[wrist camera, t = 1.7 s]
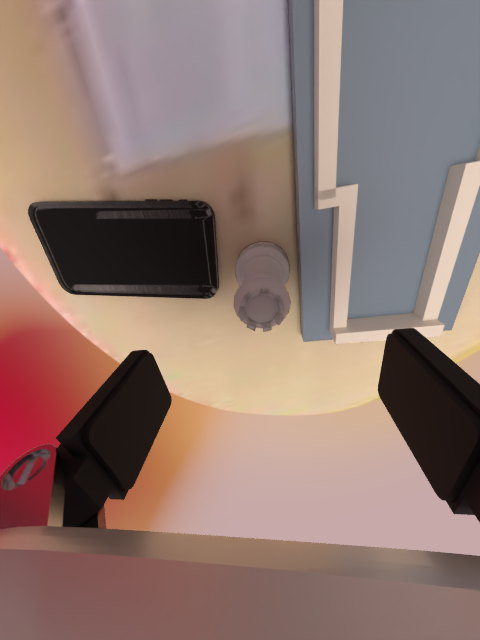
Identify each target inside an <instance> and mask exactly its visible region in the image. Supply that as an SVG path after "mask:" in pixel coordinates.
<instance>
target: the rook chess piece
mask: <svg viewBox="0 0 480 640" xmlns="http://www.w3.org/2000/svg"><path fill="white" fill-rule="evenodd" d="M289 267H290V266H289V262H288V257H287V255H286V254H285V253H284V251H283V250H282V249H281V248H280V247H278V246H277V245H275V244H273V243H271V242H257V243H254V244H251V245H249V246H248V247H247V248H245V249H244V250H243V251H242V252H241V254H240V256H239V258H238V260H237V262H236V278H237V281H238V283H239V286H240V287H239V288H238V290H237V292H236V294H235V296H234V309H235V311H236V314H237V316H238V317H239V318H240V320H241V321H243V322H244V323H246V324H247V328H250V329H252V330H254V331H255V328H256V327H257V328H263V332H264V331H269V330H272V326H275V325H276V324H278V325H279V324H280V323H281V322H282V320H283V319H284V318H285V316H286V315H287V314H288V312H289V308H290V303H291V301H290V297H289V293H288V291H287V290H286V289H285V287H284V286H285V284H286V283H287V281H288V277H289V272H290V268H289Z"/></svg>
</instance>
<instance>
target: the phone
mask: <svg viewBox="0 0 480 640" xmlns="http://www.w3.org/2000/svg"><path fill="white" fill-rule="evenodd" d="M28 214H29V217H30V220H31V222H32V224H33V227H34V229H35V231H36V233H37V235H38V238H39V240H40V242H41V244H42V246H43V249H44V251H45V253H46V255H47V257H48V260H49V262H50V264H51V266H52V269H53V271H54V273H55V275H56V277H57V280H58V282H59V284H60V285H61V287H62V288H63V289H64V290H65V291H67V292H69V293H71V294H75V295H106V296H138V297H170V298H202V299H206V298H211V297H213V296H214V295H215V294H216V292H217V290H218V288H219V276H218V260H217V244H216V227H215V216H214V212H213V210H212V208H211V207H210V206H209V205H208V204H207V203H205V202H203V201H187V200H179V201H173V200H160V201H157V200H156V199H154V200H145V201H105V202H35V203H32V204H31V205H30V206H29V209H28Z"/></svg>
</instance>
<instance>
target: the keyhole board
mask: <svg viewBox="0 0 480 640" xmlns="http://www.w3.org/2000/svg"><path fill="white" fill-rule="evenodd" d="M288 3H289V29H290V55H291V81H292V107H293V133H294V159H295V185H296V211H297V237H298V263H299V289H300V315H301V334H302V338H303V342H307V341H319V340H332V339H334V341H335V344H344V343H357V342H370V341H383V340H386V338H387V335H388V334H391V333H392V331H393V330H395V329H404V328H414V329H416V330H417V331H418V332H420V333H421V334H422V335H423V336H424V337H436V336H441V334H442V332H443V331H445V330H452V327H453V325H454V322H455V319H456V316H457V314H458V311H459V308H460V305H461V302H462V300H463V297H464V294H465V291H466V289H467V286H468V283H469V280H470V278H471V275H472V272H473V269H474V267H475V264H476V261H477V258H478V256H479V253H480V0H288Z"/></svg>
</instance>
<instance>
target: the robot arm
mask: <svg viewBox="0 0 480 640" xmlns="http://www.w3.org/2000/svg"><path fill="white" fill-rule="evenodd" d="M378 393H379V396H380V398H381V400H382V401H383V403H384V405H385V407H386V408H387V410H388V412H389V414H390V415H391V417H392V419H393V421H394V422H395V424H396V426H397V427H398V429H399V431H400V432H401V434H402V436H403V438H404V439H405V441H406V443H407V445H408V446H409V448H410V450H411V451H412V453H413V455H414V457H415V458H416V460H417V462H418V463H419V465H420V467H421V469H422V470H423V472H424V474H425V476H426V477H427V479H428V481H429V482H430V484H431V486H432V488H433V489H434V491H435V493H436V494H437V496H438V497H439V498H440V499H442V500H445V501H446V502H447V503H448V505H449V507H450V508H451V510H452V512H453V513H454V514H467V515H475V516H476V517H477V519H478V520H479V522H480V384H479V383H478V382H476V381H475V380H474V379H473V378H472V377H471V376H469V375H468V374H467V373H466V372H465V371H464V370H462V369H461V368H460V367H459V366H458V365H457V364H456V363H454V362H453V361H452V360H451V359H450V358H449V357H447V356H446V355H445V354H444V353H443V352H442V351H440V350H439V349H438V348H437V347H436V346H435V345H434V344H432V343H431V342H430V341H429V340H428V339H427V338H425V337H424V336H423V335H422V334H421V333H420V332H418V331H417V330H416V329H414V328H404V329H395V330H393V331H392V333H391V334H388V335H387V338H386V344H385V350H384V355H383V361H382V367H381V373H380V378H379V384H378ZM170 405H171V395H170V393H169V391H168V388H167V386H166V384H165V381H164V379H163V377H162V375H161V372H160V370H159V368H158V365H157V363H156V361H155V359H154V356H153V355H152V354H151V353H149V351H147V350H138V351H132V352H131V353H130V354H129V355H128V356H127V357H126V359H125V360H124V361H123V362H122V363H121V364H120V365H119V367H118V368H117V369H116V370H115V371H114V372H113V373H112V375H111V376H110V377H109V378H108V379H107V381H105V383H104V384H103V385H102V386H101V387H100V388H99V389H98V391H97V392H96V393H95V394H94V395H93V396H92V397H91V399H90V400H89V401H88V402H87V403H86V404H85V405H84V407H83V408H82V409H81V410H80V411H79V412H78V413H77V414H76V416H75V417H74V418H73V419H72V420H71V421H70V423H69V424H68V425H67V426H66V427H65V428H64V430H62V432H61V433H60V434H59V435H58V436H57V437H56V439H57V440H58V441H59V442H60V443H61V444H60V445H59V447H58V448H56V447H55V446H54V445H51V444H45V445H40V446H38V447H36V448H33V449H31V450H29V451H28V452H26V453H25V454H23V455H22V456H21V457H19V458H18V459H16V460H15V461H14V462H13V463H12V464H11V465H10V466H9V467H8V468H7V469H6V470H5V471H4V472H3V474H2V475H1V476H0V640H480V556H473V555H463V554H453V553H441V552H431V551H419V550H406V549H392V548H379V547H365V546H352V545H338V544H325V543H324V544H323V543H311V542H297V541H283V540H269V539H268V540H267V539H254V538H240V537H239V538H238V537H225V536H211V535H196V534H181V533H165V532H164V533H163V532H150V531H133V530H118V529H106V519H105V507H104V503H105V501H106V499H107V498H108V497H109V498H110V499H121V500H124V499H125V496H126V494H127V492H128V490H129V489H131V488H132V487H133V485H134V483H135V481H136V479H137V477H138V475H139V473H140V471H141V469H142V466H143V464H144V462H145V460H146V457H147V455H148V453H149V451H150V449H151V447H152V445H153V442H154V440H155V438H156V436H157V434H158V431H159V429H160V427H161V425H162V423H163V421H164V418H165V416H166V414H167V412H168V410H169V408H170Z"/></svg>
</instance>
